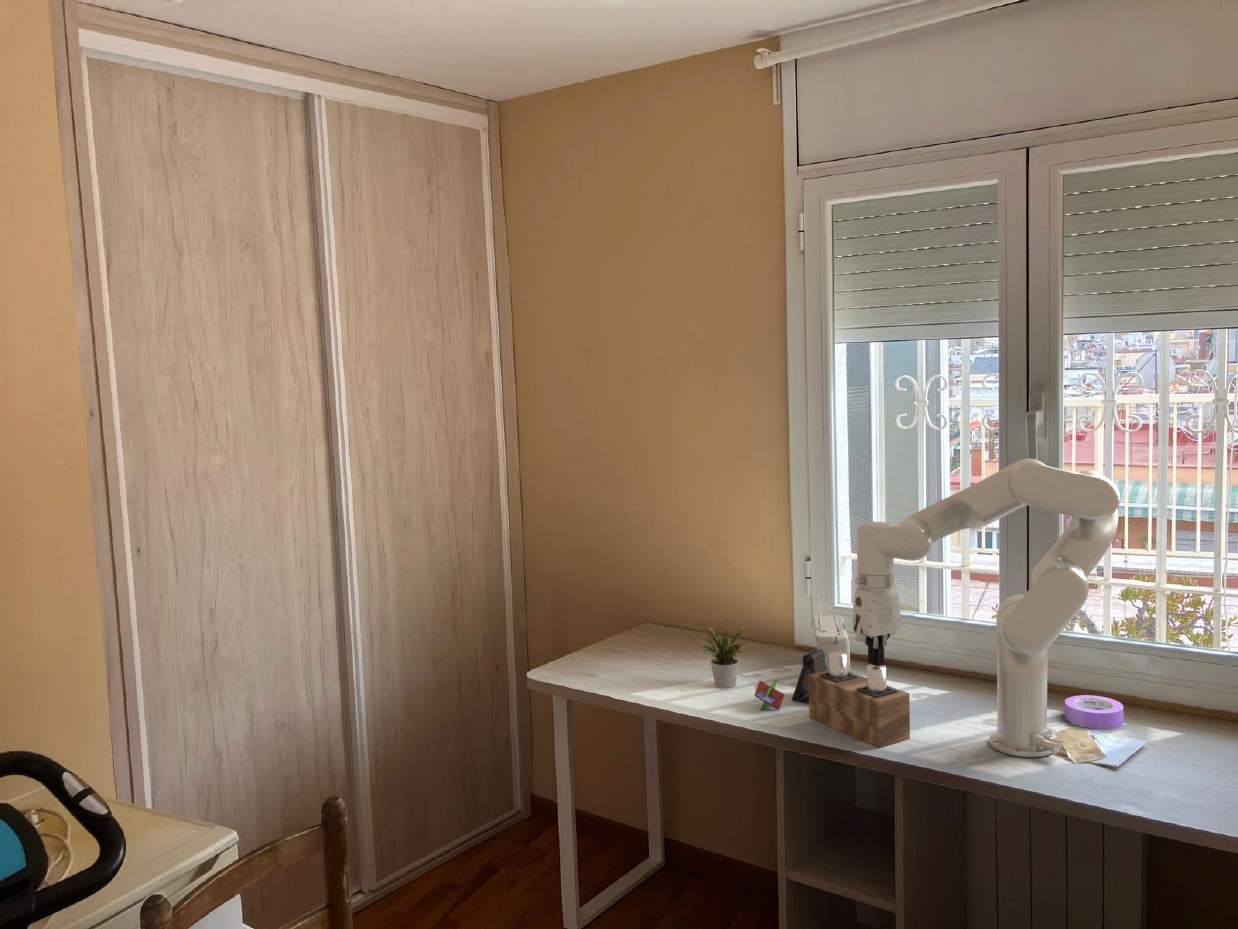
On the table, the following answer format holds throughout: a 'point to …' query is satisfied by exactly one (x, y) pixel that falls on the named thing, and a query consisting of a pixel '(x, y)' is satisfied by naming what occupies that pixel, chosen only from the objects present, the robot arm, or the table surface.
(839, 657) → the peg far
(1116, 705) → the masking tape
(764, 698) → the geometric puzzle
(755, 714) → the table surface
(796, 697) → the phone stand
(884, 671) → the peg near
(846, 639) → the stereo radio cassette player
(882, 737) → the block
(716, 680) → the house plant
